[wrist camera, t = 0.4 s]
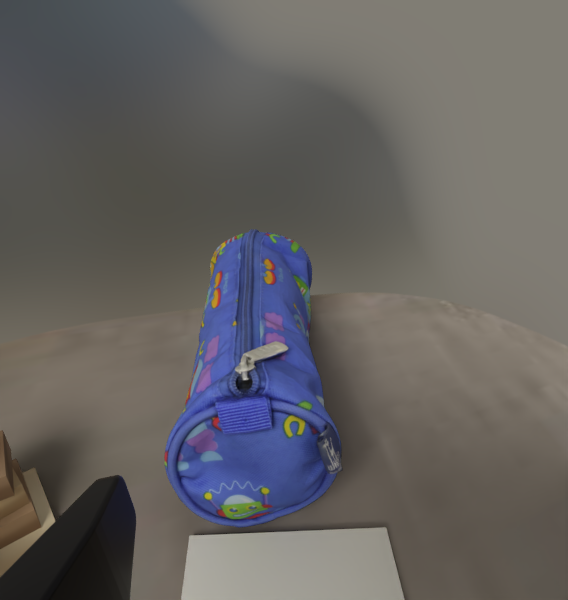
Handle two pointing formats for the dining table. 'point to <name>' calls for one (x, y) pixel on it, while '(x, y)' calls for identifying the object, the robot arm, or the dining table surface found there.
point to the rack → (19, 508)
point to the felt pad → (292, 566)
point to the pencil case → (254, 392)
